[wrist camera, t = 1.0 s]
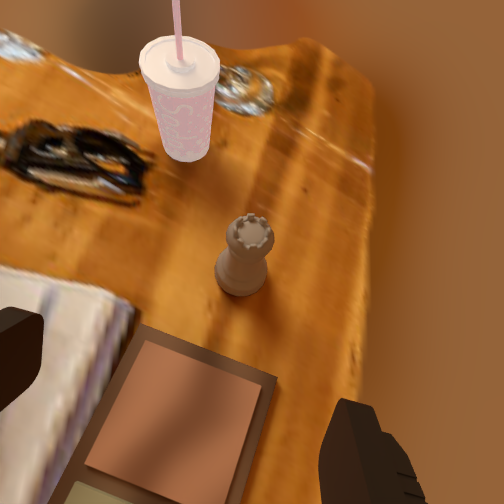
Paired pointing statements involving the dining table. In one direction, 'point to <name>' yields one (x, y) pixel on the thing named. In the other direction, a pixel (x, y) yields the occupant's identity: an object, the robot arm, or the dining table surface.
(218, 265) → the rook chess piece
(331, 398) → the dining table surface
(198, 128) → the beverage cup
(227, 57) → the dining table surface
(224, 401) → the tile board
